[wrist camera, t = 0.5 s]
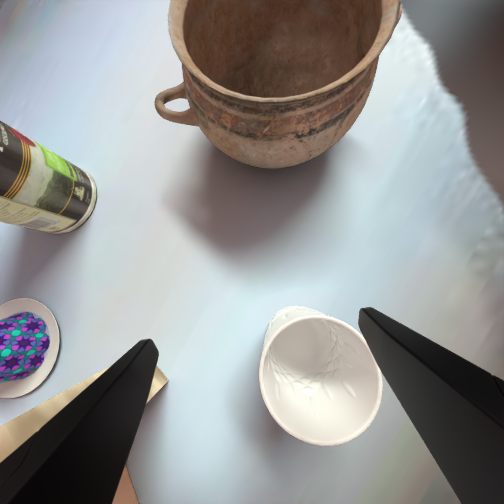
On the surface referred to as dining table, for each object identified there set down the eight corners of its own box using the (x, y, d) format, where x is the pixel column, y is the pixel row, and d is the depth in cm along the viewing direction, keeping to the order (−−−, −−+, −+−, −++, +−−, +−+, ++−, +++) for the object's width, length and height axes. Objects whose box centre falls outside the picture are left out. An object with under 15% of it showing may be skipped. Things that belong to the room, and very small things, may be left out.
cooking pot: (212, 222, 25) (162, 168, 13) (170, 109, 28) (99, -18, 16) (390, 150, 25) (507, 27, 13) (327, 44, 28) (374, -136, 16)
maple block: (168, 380, 23) (51, 499, 10) (138, 412, 22) (-20, 576, 10) (142, 348, 23) (3, 424, 11) (112, 379, 23) (-64, 493, 11)
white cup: (306, 386, 21) (340, 477, 12) (249, 342, 23) (235, 390, 13) (343, 327, 22) (406, 364, 12) (286, 287, 23) (300, 292, 13)
